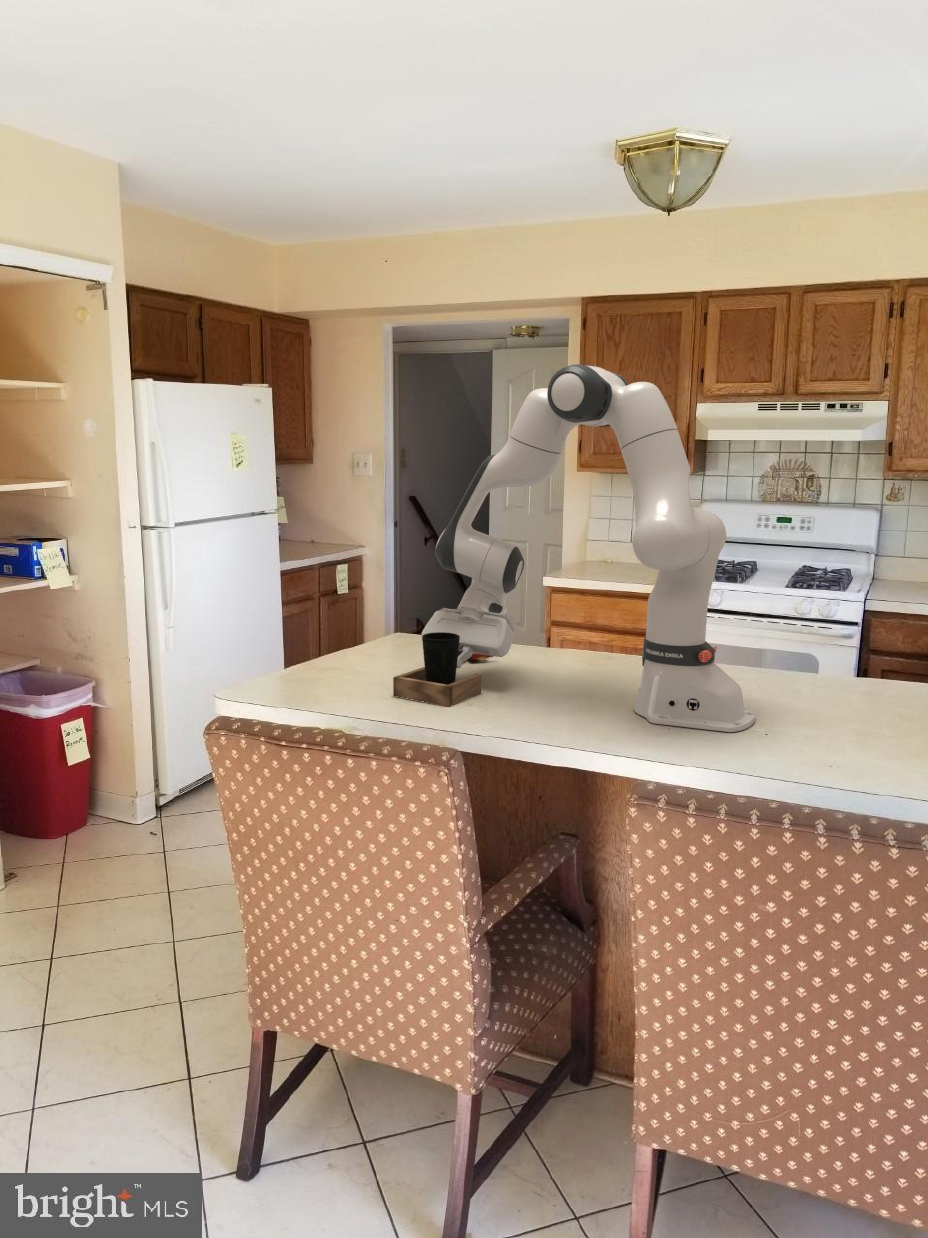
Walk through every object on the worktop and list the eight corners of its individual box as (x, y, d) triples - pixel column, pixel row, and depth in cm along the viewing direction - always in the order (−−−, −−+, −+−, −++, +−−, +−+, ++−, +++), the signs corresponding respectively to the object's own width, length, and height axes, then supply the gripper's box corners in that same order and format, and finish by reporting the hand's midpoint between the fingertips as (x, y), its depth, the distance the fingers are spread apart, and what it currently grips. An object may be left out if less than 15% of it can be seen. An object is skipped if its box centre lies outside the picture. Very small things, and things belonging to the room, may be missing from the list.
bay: (481, 693, 192) (481, 674, 192) (449, 707, 182) (449, 687, 182) (427, 684, 199) (427, 665, 199) (393, 696, 189) (393, 677, 189)
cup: (466, 692, 193) (466, 635, 191) (445, 700, 187) (446, 641, 185) (435, 686, 197) (435, 630, 195) (414, 694, 191) (414, 636, 189)
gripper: (432, 598, 204) (405, 650, 198) (514, 609, 194) (488, 664, 187) (443, 615, 209) (417, 667, 203) (523, 626, 198) (499, 681, 192)
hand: (452, 665), depth 195 cm, fingers closed, pressing on cup
